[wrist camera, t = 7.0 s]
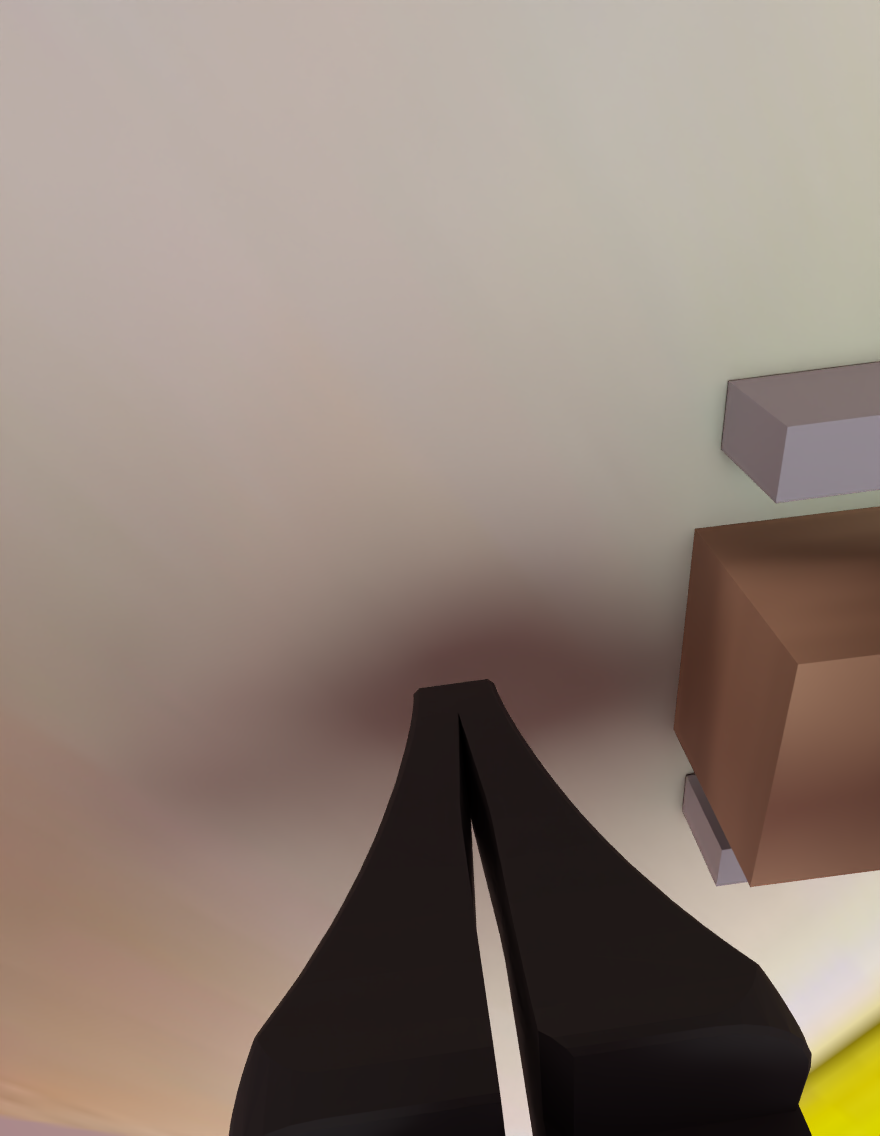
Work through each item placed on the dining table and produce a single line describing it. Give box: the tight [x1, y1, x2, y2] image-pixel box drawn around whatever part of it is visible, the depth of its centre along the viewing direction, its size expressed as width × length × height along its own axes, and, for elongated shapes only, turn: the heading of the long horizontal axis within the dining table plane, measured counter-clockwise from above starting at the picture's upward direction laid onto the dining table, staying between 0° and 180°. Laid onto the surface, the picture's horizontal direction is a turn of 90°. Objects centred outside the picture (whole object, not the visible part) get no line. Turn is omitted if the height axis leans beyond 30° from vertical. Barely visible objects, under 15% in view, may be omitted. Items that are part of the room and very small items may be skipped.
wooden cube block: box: [674, 506, 880, 887], centre depth 14 cm, size 5×5×4 cm
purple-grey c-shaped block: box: [683, 362, 880, 886], centre depth 14 cm, size 6×10×2 cm, turn 6°
